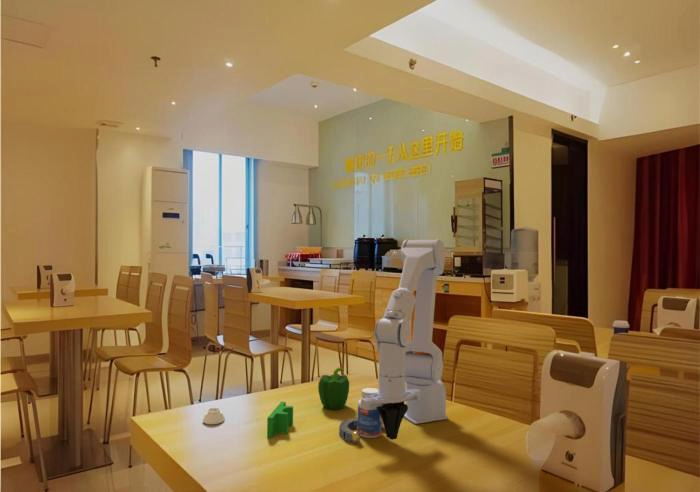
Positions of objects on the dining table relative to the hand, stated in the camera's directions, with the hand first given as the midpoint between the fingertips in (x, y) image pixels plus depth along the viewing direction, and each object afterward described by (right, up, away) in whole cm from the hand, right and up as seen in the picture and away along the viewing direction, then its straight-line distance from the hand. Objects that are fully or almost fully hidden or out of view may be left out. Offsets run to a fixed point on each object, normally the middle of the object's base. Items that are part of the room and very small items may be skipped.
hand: (391, 437), depth 99 cm
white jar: (-41, -1, +11) cm, 43 cm away
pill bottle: (-5, -1, +4) cm, 7 cm away
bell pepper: (-13, -1, +22) cm, 26 cm away
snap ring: (-7, -1, +5) cm, 9 cm away
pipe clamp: (-25, -1, +7) cm, 26 cm away
